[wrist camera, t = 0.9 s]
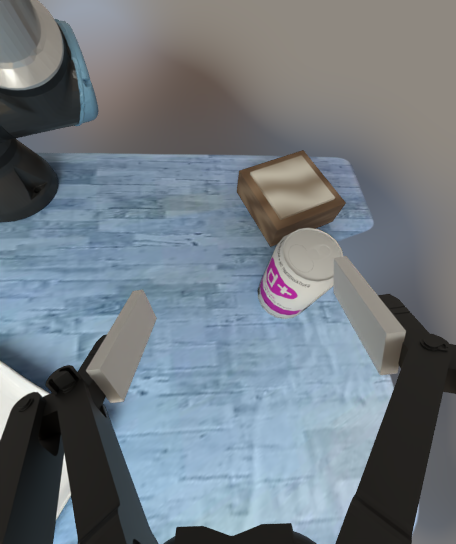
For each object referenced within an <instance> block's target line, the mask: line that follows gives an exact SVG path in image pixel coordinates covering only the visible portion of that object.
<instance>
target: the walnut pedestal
mask: <svg viewBox="0 0 456 544" xmlns="http://www.w3.org/2000/svg"><path fill="white" fill-rule="evenodd" d="M237 193H238V195H239V196H240V198H241V200H242V201H243V203H244V205H245V206H246V208H247V209H248V211H249V213H250V214H251V216H252V218H253V219H254V221H255V222H256V224H257V226H258V227H259V229H260V231H261V232H262V234H263V236H264V237H265V239H266V240H267V242H268V244H269V245H270V247H272V246H274V245H276V244H278V243H279V242H280V241H281V239H282V238H283V237H284V236H286V235H288V234H290V233H292V232H294V231H296V230H298V229H303V228H313V229H316V228H318V227H321V226H323V225H325V224H328V223H330V222H333V220H334V219H335V217H336V216H337V215H338V213H339V212H340V211H341V209H342V208H343V206H344V205H345V204H346V203H345V201H344V200H343V199H342V198H341V196H340V195H339V194H338V193H337V192H336V190H335V189H334V188H333V187H332V185H331V184H330V183H329V182H328V180H327V179H326V178H325V177H324V175H323V174H322V173H321V172H320V170H319V169H318V168H317V167H316V165H315V164H314V163H313V162H312V161H311V159H310V158H309V157H308V156H307V154H306V153H305V152H304V151H303V150H302V151H299V152H296V153H294V154H290V155H287V156H284V157H281V158H277V159H274V160H271V161H268V162H265V163H262V164H259V165H256V166H253V167H250V168H246V169H243V170H240V171H239V177H238V185H237Z"/></svg>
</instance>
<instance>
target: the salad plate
mask: <svg viewBox="0 0 456 544" xmlns="http://www.w3.org/2000/svg"><path fill="white" fill-rule="evenodd" d="M32 392H38V393H39V394H40V395H41V396H42V397H43V396H46V395H48V394H50V393H48V392H47V391H45V390H44V389H42V388H40V387H39V386H37V385H35V384H34V383H32V382H31V381H29V380H27V379H26V378H24V377H23V376H21V375H20V374H19V373H17V372H16V371H15V370H13V369H12V368H10V367H9V366H8V365H6V364H5V363H3V362H2V361H0V440H1V437H2V434H3V431H4V428H5V426H6V423H7V420H8V417H9V414H10V411H11V409H12V408H13V406H14V405H15V404H16V403H17V401H19V400H20V399H21V398H22V397H24V396H25V395H27V394H29V393H32ZM70 496H71V492H70V485H69V479H68V473H67V467H66V461H65V454H64V459H63V467H62V475H61V483H60V491H59V499H58V507H57V515H56V520H57V518H58V516H59V514H60V513H61V511H62V510H63V508H64V506H65V505H66V503H67V501H68V500H69V498H70Z"/></svg>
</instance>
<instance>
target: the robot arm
mask: <svg viewBox="0 0 456 544" xmlns="http://www.w3.org/2000/svg"><path fill="white" fill-rule="evenodd" d="M97 115H98V105H97V101H96V96H95V93H94V89H93V86H92V83H91V81H90V77H89V74H88V70H87V67H86V64H85V61H84V58H83V55H82V52H81V50H80V47H79V45H78V42H77V40H76V37H75V35H74V32H73V31H72V29H71V27H70V25H69V24H68V23H66V22H65V21H59V20H57V19H54V18H53V17H52V15H51V14H50V12H49V11H48V10H47V9H46V8H45V7H44V6H43V5H42V4H41V3H40V2H39V1H38V0H0V222H11V221H16V220H20V219H24V218H26V217H29V216H31V215H33V214H35V213H37V212H38V211H40V210H41V209H43V208H44V207H45V206H46V205H47V204H48V203H49V202H50V201H51V200H52V198H53V197H54V195H55V193H56V191H57V187H58V179H57V175H56V173H55V172H54V171H53V169H52V168H51V167H50V165H49V164H48V163H47V162H46V161H45V160H44V159H43V158H42V157H40V156H39V155H37V154H36V153H35V152H33V151H32V150H30V149H29V148H28V147H26V146H25V145H24V144H22V143H21V142H19V141H18V140H17V139H16V138H18V137H23V136H28V135H32V134H37V133H41V132H46V131H50V130H55V129H59V128H64V127H69V126H80V125H81V124H82V123H85V122H89V121H92V120H94V119H95V118H96V117H97ZM334 294H335V296H336V298H337V299H338V301H339V303H340V305H341V306H342V308H343V310H344V312H345V314H346V315H347V317H348V319H349V321H350V323H351V324H352V326H353V328H354V330H355V331H356V333H357V335H358V337H359V339H360V340H361V342H362V344H363V346H364V348H365V349H366V351H367V353H368V355H369V357H370V358H371V360H372V362H373V364H374V365H375V367H376V369H377V371H378V373H379V374H380V375H386V374H396V373H397V372H398V367H399V366H400V367H401V371H400V374H399V377H398V379H397V383H396V385H395V387H394V390H393V393H392V396H391V398H390V401H389V404H388V407H387V409H386V412H385V415H384V418H383V420H382V423H381V426H380V429H379V431H378V434H377V437H376V440H375V442H374V445H373V448H372V451H371V453H370V456H369V459H368V462H367V464H366V467H365V470H364V473H363V475H362V478H361V481H360V484H359V486H358V489H357V492H356V494H355V495H354V497H353V499H352V501H351V503H350V506H349V508H348V511H347V514H346V516H345V519H344V522H343V525H342V527H341V530H340V533H339V535H338V538H337V541H336V544H411V543H412V531H413V526H414V522H415V517H416V513H417V508H418V504H419V499H420V494H421V490H422V485H423V481H424V476H425V472H426V467H427V462H428V458H429V453H430V449H431V444H432V440H433V435H434V430H435V426H436V421H437V417H438V412H439V407H440V403H441V398H442V394H443V392H449V393H455V394H456V345H453V344H449V343H448V342H447V341H446V340H444V339H443V338H441V337H439V336H436V335H434V334H430V333H429V332H428V331H427V330H426V329H425V328H424V327H423V326H422V325H421V323H420V322H419V321H418V320H417V319H416V318H415V317H414V316H413V315H412V314H411V313H410V311H409V310H408V309H407V308H406V307H405V306H404V305H403V303H402V302H401V301H400V300H399V299H397V298H396V297H394V296H392V295H390V294H385V295H377V294H376V293H375V292H374V290H373V289H372V288H371V287H370V285H369V284H368V283H367V282H366V280H365V279H364V278H363V277H362V275H361V274H360V273H359V272H358V270H357V269H356V268H355V267H354V265H353V264H352V263H351V262H350V260H349V259H348V258H347V257H346V256H343V257H337V258H334ZM156 319H157V318H156V316H155V314H154V312H153V310H152V307H151V305H150V303H149V301H148V299H147V297H146V295H145V293H144V291H143V290H137V291H133V292H132V294H131V295H130V297H129V299H128V301H127V302H126V304H125V306H124V307H123V309H122V311H121V312H120V314H119V316H118V317H117V319H116V321H115V322H114V324H113V326H112V327H111V329H110V331H109V332H108V334H107V335H103V336H102V337H101V338H100V339H99V340H98V341H97V342H96V343H95V345H94V346H93V348H92V350H91V351H90V353H89V354H88V356H87V358H86V359H85V361H84V362H83V364H82V366H81V367H80V369H79V370H78V372H77V371H76V370H75V368H74V367H73V366H71V365H67V366H63V367H61V368H59V369H58V370H56V371H55V372H53V373H52V374H51V376H50V377H49V378H48V380H47V381H46V386H47V387H48V389H49V390H50V391H51V392H52V393H51V394H48V395H46V396H43V397H42V396H41V395H40V394H39V393H38V392H32V393H29V394H27V395H25V396H24V397H22V398H21V399H20V400H19V401H17V403H16V404H15V405H14V406H13V408H12V409H11V411H10V414H9V417H8V420H7V423H6V426H5V428H4V431H3V434H2V437H1V440H0V544H53V539H54V531H55V523H56V515H57V507H58V499H59V491H60V483H61V475H62V467H63V459H64V454H65V461H66V467H67V473H68V479H69V485H70V492H71V498H72V504H73V510H74V517H75V523H76V529H77V535H78V544H158V542H157V540H156V538H155V537H154V535H153V534H152V532H151V530H150V527H149V525H148V522H147V519H146V517H145V514H144V511H143V508H142V506H141V503H140V500H139V497H138V495H137V492H136V489H135V487H134V484H133V481H132V478H131V476H130V473H129V470H128V467H127V465H126V462H125V459H124V456H123V454H122V451H121V448H120V446H119V443H118V440H117V437H116V435H115V432H114V429H113V426H112V424H111V421H110V418H109V416H108V413H107V410H106V407H105V406H104V405H103V401H104V399H105V397H106V398H107V399H108V400H109V402H110V403H116V402H124V399H125V397H126V394H127V392H128V389H129V387H130V384H131V382H132V379H133V377H134V374H135V372H136V369H137V367H138V364H139V362H140V359H141V357H142V354H143V352H144V349H145V347H146V344H147V341H148V339H149V336H150V334H151V331H152V329H153V326H154V324H155V321H156ZM164 544H316V543H315V542H314V541H312V540H311V539H309V538H308V537H306V536H304V535H302V534H300V533H297V532H294V531H293V529H292V524H291V523H287V524H261V525H259V526H257V527H254V528H252V529H249V530H247V531H244V532H242V533H240V534H237V535H234V536H229V535H226V534H224V533H221V532H218V531H215V530H213V529H210V528H207V527H204V526H192V527H177V528H176V535H175V537H173V538H171V539H169V540H168V541H166V542H165V543H164Z"/></svg>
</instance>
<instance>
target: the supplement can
mask: <svg viewBox="0 0 456 544" xmlns="http://www.w3.org/2000/svg"><path fill="white" fill-rule="evenodd" d="M337 257H343V254H342V249H341V248H340V246H339V244H338V243H337V241H336V240H335V239H334V238H332V237H331V236H330V235H329V234H327V233H325V232H323V231H321V230H319V229H313V228H303V229H298V230H296V231H294V232H292V233H290V234H288V235H286V236H284V237H283V238H282V239H281V241H280V242H279V243H278V244H277V246H276V248H275V251H274V253H273V255H272V257H271V260H270V262H269V264H268V266H267V268H266V271H265V273H264V275H263V277H262V280H261V282H260V285H259V288H258V299H259V301H260V304H261V306H262V307H263V308H264V310H265V311H266V312H267V313H269V314H270V315H272V316H274V317H276V318H281V319H288V318H294V317H295V316H297V315H298V314H300V313H301V312H303V311H304V310H305V309H306V308H307V307H309V306H310V305H311V304H312V303H313V302H315V301H316V300H317V299H318V298H319V297H321V296H322V295H323V294H324V293H326V292H327V291H328V290H329V289H330V288H332V287H333V286H334V258H337Z"/></svg>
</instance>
